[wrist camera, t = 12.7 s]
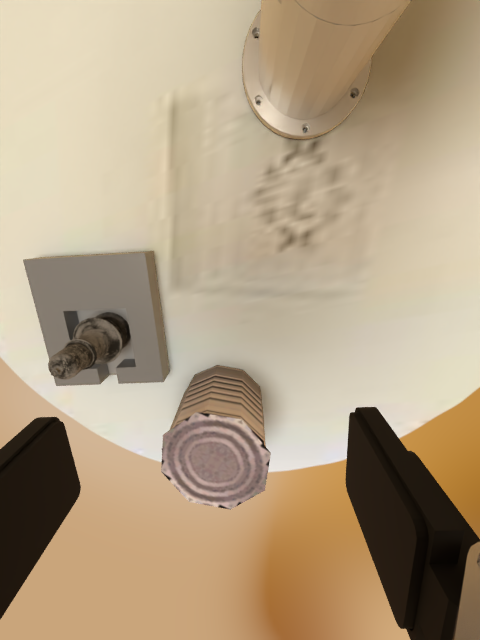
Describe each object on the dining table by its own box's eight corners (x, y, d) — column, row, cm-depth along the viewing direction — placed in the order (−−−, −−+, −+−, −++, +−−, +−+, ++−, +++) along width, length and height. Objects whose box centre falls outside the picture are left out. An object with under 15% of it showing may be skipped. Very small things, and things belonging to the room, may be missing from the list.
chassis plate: (40, 257, 36) (23, 259, 33) (153, 251, 36) (144, 252, 33) (69, 374, 41) (56, 385, 38) (169, 371, 40) (163, 381, 37)
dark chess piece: (80, 317, 38) (7, 354, 26) (122, 304, 37) (66, 337, 26) (100, 357, 40) (39, 409, 28) (140, 346, 39) (94, 394, 27)
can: (222, 448, 44) (213, 526, 32) (166, 399, 42) (134, 463, 30) (280, 403, 41) (293, 470, 30) (224, 348, 39) (214, 396, 28)
